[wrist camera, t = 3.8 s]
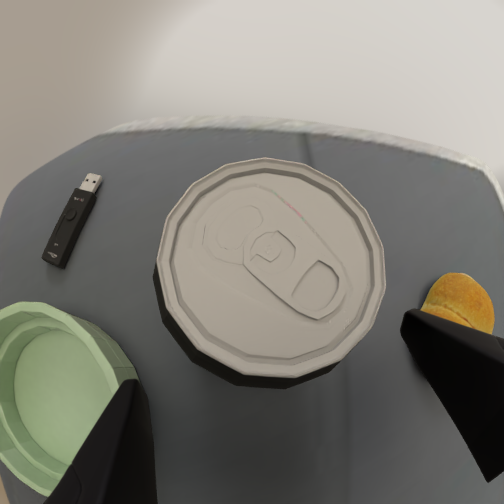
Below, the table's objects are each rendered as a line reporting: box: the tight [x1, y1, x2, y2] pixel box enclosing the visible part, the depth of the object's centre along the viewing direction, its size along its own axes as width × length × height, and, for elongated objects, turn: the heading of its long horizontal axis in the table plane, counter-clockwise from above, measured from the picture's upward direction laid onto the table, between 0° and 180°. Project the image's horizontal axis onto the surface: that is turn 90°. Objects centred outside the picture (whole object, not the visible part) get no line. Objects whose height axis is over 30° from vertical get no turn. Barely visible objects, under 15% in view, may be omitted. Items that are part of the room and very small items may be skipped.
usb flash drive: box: [42, 173, 102, 269], centre depth 19 cm, size 8×2×1 cm, turn 165°
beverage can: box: [153, 158, 386, 389], centre depth 12 cm, size 7×7×12 cm
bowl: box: [0, 302, 140, 497], centre depth 12 cm, size 12×12×4 cm
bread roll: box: [421, 273, 494, 334], centre depth 17 cm, size 8×9×4 cm
